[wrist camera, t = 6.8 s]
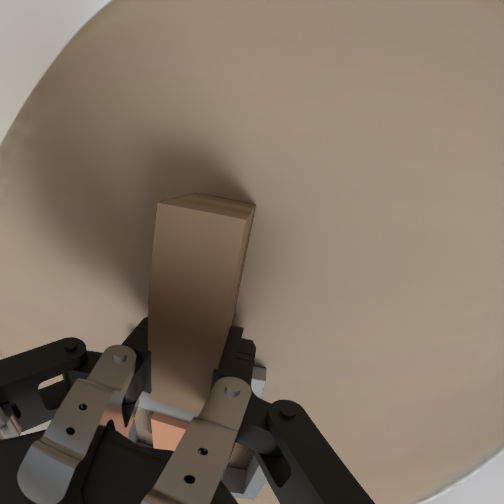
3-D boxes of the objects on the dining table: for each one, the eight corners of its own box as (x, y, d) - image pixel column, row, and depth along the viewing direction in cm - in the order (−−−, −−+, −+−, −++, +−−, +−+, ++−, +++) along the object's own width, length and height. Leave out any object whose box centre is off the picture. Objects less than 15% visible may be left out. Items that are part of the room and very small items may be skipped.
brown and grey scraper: (149, 184, 12) (98, 192, 8) (308, 216, 11) (324, 237, 8) (142, 396, 15) (117, 439, 11) (248, 424, 15) (241, 474, 11)
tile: (161, 397, 16) (150, 418, 14) (236, 417, 15) (232, 440, 13) (162, 436, 17) (154, 455, 15) (225, 453, 17) (221, 473, 15)
